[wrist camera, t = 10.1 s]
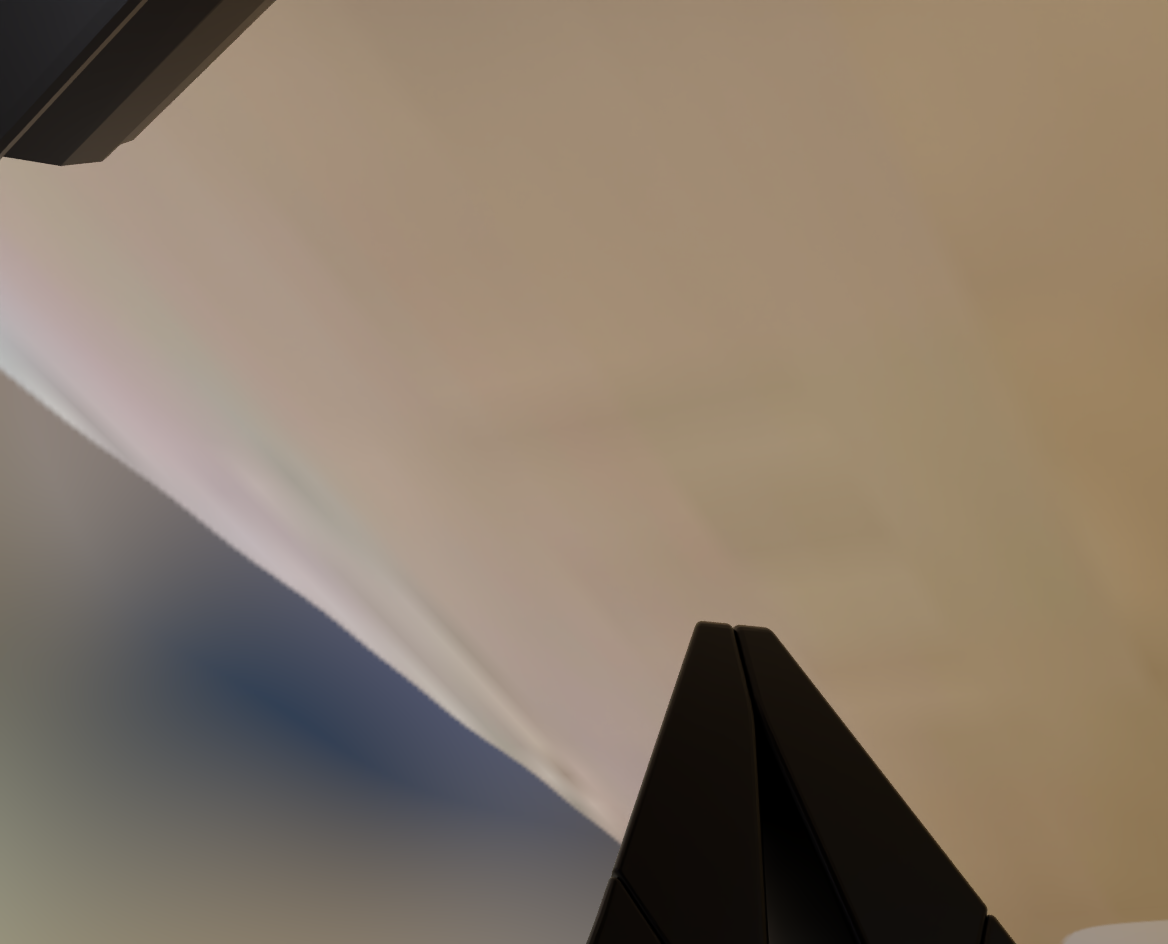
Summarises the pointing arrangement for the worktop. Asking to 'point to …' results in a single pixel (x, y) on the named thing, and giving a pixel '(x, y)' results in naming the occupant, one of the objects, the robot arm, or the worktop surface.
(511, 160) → the worktop surface
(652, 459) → the worktop surface
